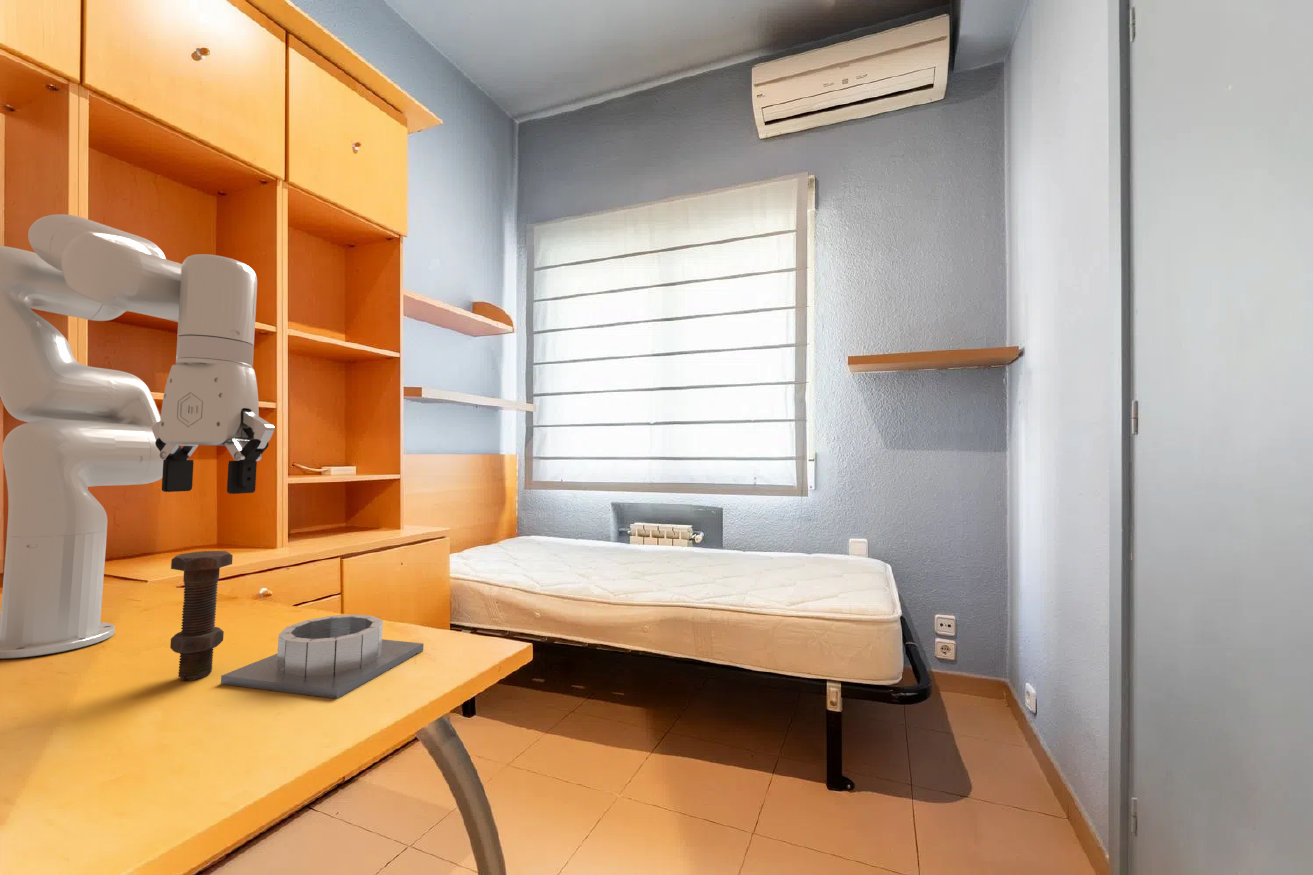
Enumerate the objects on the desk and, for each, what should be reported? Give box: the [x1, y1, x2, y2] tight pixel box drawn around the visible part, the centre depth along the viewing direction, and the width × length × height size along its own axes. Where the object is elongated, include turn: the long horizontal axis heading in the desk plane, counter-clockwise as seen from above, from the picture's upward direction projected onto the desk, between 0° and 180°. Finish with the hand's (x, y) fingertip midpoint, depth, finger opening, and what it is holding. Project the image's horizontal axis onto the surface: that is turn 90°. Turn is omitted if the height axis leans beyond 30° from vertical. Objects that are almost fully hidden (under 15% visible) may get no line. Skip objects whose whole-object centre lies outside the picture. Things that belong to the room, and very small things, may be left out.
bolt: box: [170, 550, 233, 682], centre depth 66 cm, size 6×5×15 cm
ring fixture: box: [220, 613, 424, 700], centre depth 70 cm, size 16×16×5 cm
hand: (208, 492), depth 67 cm, fingers open, 9 cm apart
